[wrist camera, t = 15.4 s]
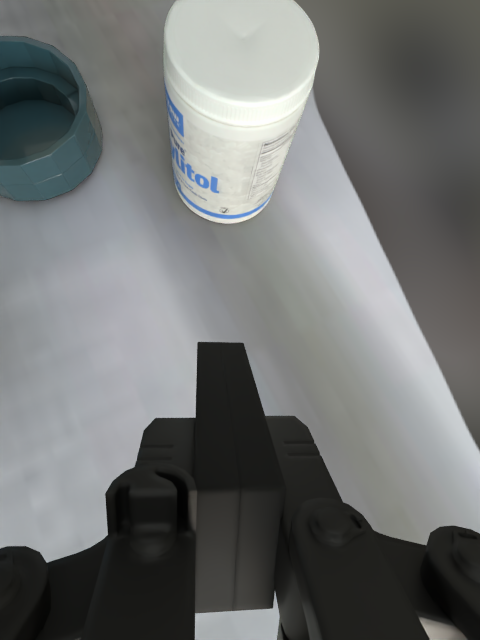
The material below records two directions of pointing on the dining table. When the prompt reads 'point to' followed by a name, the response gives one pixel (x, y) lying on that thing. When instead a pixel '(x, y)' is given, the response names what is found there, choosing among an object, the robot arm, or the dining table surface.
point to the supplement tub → (234, 99)
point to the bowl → (43, 122)
